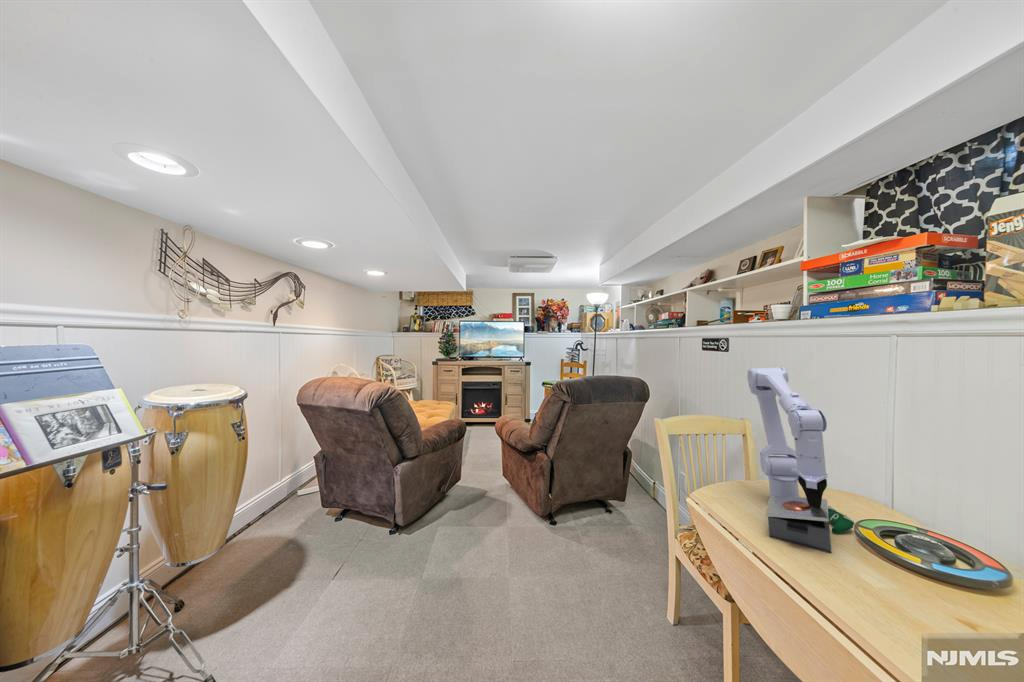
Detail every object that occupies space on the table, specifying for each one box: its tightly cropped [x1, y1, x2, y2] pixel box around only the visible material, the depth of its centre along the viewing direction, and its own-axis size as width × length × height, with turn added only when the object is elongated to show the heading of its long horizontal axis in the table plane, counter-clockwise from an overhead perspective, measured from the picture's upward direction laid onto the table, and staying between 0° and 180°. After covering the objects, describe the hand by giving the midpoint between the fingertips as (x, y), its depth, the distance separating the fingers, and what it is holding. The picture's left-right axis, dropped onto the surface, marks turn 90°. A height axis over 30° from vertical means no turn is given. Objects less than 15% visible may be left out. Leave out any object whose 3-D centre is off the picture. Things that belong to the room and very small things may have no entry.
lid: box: [765, 495, 830, 523], centre depth 89 cm, size 13×13×1 cm
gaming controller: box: [828, 505, 855, 535], centre depth 92 cm, size 9×4×6 cm
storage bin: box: [767, 516, 832, 554], centre depth 89 cm, size 16×12×6 cm
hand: (814, 506), depth 87 cm, fingers closed, pressing on lid
